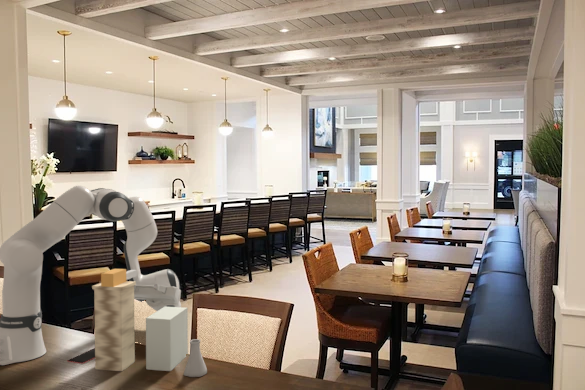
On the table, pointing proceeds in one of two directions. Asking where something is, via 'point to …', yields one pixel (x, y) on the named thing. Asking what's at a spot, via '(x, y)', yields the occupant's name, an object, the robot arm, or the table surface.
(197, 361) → the flask
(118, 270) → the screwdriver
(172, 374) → the table surface
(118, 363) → the high stand
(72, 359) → the smartphone
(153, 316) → the pale green block
